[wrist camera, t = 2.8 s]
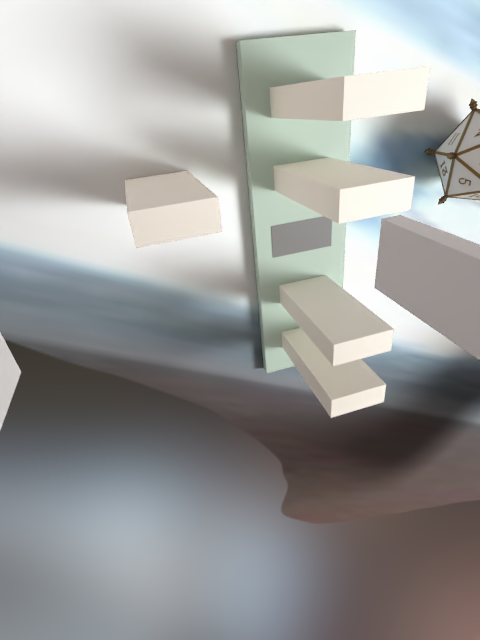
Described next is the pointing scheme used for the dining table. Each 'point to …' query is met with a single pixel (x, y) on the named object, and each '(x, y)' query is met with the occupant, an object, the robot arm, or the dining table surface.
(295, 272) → the board
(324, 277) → the domino
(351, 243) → the dining table surface
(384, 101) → the domino
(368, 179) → the domino
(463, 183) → the game die
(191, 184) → the domino
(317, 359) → the domino
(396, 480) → the dining table surface
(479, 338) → the robot arm
